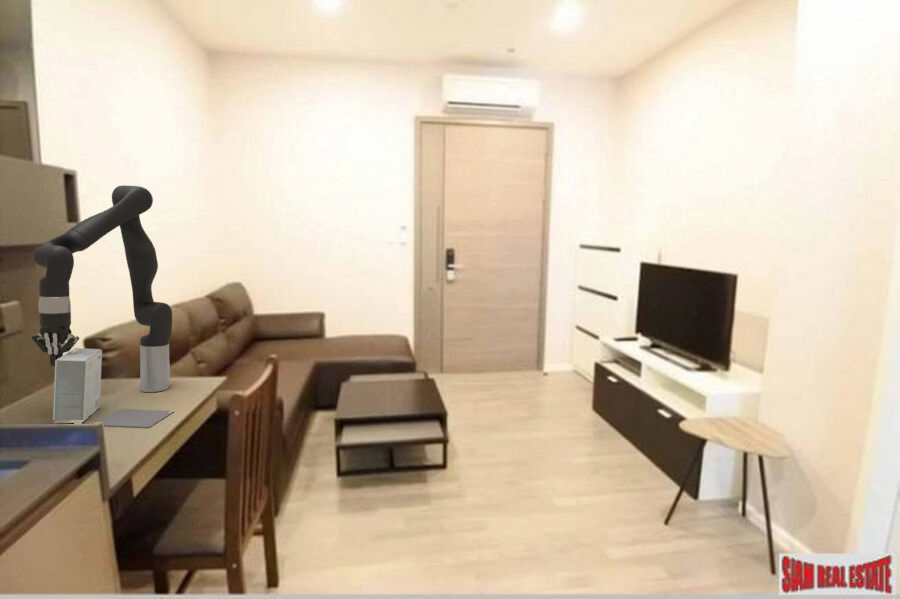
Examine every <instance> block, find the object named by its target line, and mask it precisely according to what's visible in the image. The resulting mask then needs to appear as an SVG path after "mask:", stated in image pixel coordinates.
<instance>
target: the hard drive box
mask: <svg viewBox="0 0 900 599" xmlns="http://www.w3.org/2000/svg"><path fill="white" fill-rule="evenodd" d="M102 359H103V350H102V348H101V349H100V348H79V347H78V348H74V349H71V350H70V351H68V352H66V353H65V354H63V356H62V357H60V358H58V359H57V360H55V366H54V385H53V387H54V388H53V406H52V407H53V409H52V410H53V412H52V413H53V414H52V421H53V420H84V419H86V418H87V417H89V416H90V415H91V416H92V415H93V414H94V413H95V412H96V411H98V410H99V408H100V407H101V388H102V387H101V385H102V383H101V382H102ZM91 416H90V417H91ZM90 417H89V418H90Z"/></svg>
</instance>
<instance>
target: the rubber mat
mask: <svg viewBox="0 0 900 599" xmlns="http://www.w3.org/2000/svg"><path fill="white" fill-rule="evenodd" d="M169 411H170V410H162V409H161V410H160V409H159V410H157V409H137V408H136V409H135V408H134V409H133V408H132V409H131V408H120V409H118V410H116V411H114V412H112V413H110V414H108V415H107V416H105V417H103V418H101V419H99V420H96V422H103V424H104V426H103V427H106V426H108V427H110V428H114V427H115V428H134V429H137V428H138V429H139V428H140V429H150V428H152V427H153V426H155V425H157V424H159V423H160V422H161V421H163V420H164V419H166V418H167V417H168V416H167V415H169V414H170V413H168V412H169ZM170 415H171V414H170ZM170 415H169V416H170ZM166 416H167V417H166ZM165 417H166V418H165ZM163 418H164V419H163ZM162 419H163V420H162ZM159 421H160V422H159ZM156 423H157V424H156Z"/></svg>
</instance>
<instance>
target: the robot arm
mask: <svg viewBox="0 0 900 599" xmlns="http://www.w3.org/2000/svg"><path fill="white" fill-rule="evenodd" d="M153 201H154V199H153V194H152V193H151V192H150V190H148V189H147V188H145V187H142V186H138V185H118V186H116V187H115V188H114V189H113V191H112V193H111V202H112V206H111V207H109V208H107V209H105V210H103V211H102V212H99V213H97V214H94V215H92V216H90V217H87V218H85V219H83V220H82V221H80V222H77V224H76V225H74V226H73V227H71V228H70V229H68V230H67V231H66V232H64V233H63V234H61V235H58V236H56V237H54V238H51V239H50V240H48V241H45V242H44V243H42V244H41V245H39V246H38V247H37V248H36V249H35V250H34V253H33V260H34V262H35V263H36V264H37V265H38V266H40V267H41V268H42V267H43V268H46V272H45V276H44V277H41V278H40V279H39V284H38V286H39V287H38V290H39V298H38V325H39V327H40V329H39V333H38V334H35V335H33V336H31V339H32V341H33V342H34V343H35V345H37V347H38V348H39V349H40V350H41V351H42V353H46V354H48V355H49V364H50V366H51V367H55V360H57V359H58V358H60V357H62V356H63V355H64V353H65V354H66V353H68V352H70V351H72V348H73V347H74V346H75V345H76V343H78V342H79V341H80V337H79V336H75V335H73V334H72V330H71V328H70V327H71V324H72V309H71V308H72V305H71V299H70V280H71V276H72V274H73V269H74V265H75V260H74V255H73V254H75V253H78V252H82V251H83V252H84V251H85V250H87V249H88V248H90V247H92V245H94V244H95V243H97V242H98V241H99V240H100V239H102V238H104V236H106V235H107V234H109V233H110V232H111V231H114V230H115V229H116V228H118V227H119V228H120V233H121V238H122V244H123V247H124V254H125V260H126V264H127V265H126V266H127V268H128V272H129V273H128V274H129V278H130V283H131V284H130V285H131V290H132V302H133V306H132V307H133V314H134V317H135V320H136V322H137V323H138V324H139V325H142V326H147V327H149V332H148V334H145V335H144V336H141V337H140V340H139V347H140V348H139V350H140V351H139V352H140V353H139V356H140V361H139V362H140V363H139V364H140V368H139V369H140V371H139V372H140V376H139V377H140V378H139V379H140V383H139V384H140V386H139V387H140V391H141V392H144V393H157V392H162V391H166V390H168V389H169V388H170V386H171V382H170V381H171V380H170V378H171V377H170V376H171V375H170V373H171V372H170V371H171V370H170V369H171V364H170V363H171V362H170V339H171V336H172V334H173V333H172V327H173V310H172V308H171V306H170V305H169V304H167V303H165V302H161V301H160V302H159V301H154V298H153V291H152V290H153V289H152V286H153V282H154V280H155V278H156V275H157V272H158V268H159V262H158V258H157V257H158V256H157V251H156V248H155V246H154V244H153V242H152V240H151V238H150V237H149V236H148V234H147V233H146V231H145V230H144V227H143V225H142V223H141V217H140V215H142V214H144V213H145V212H147V211H149V210H150V209H151V208H152V206H153V203H154V202H153Z"/></svg>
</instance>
